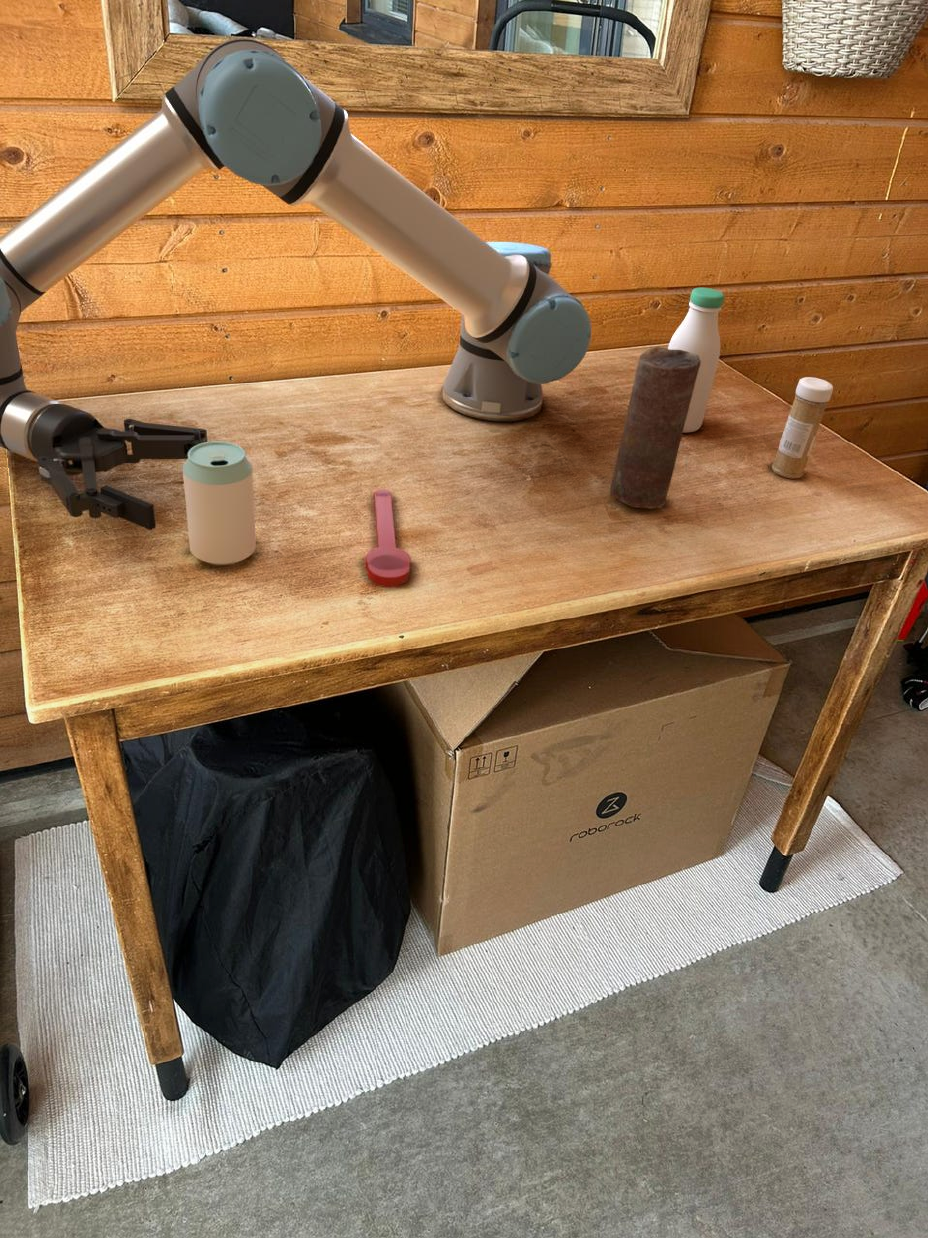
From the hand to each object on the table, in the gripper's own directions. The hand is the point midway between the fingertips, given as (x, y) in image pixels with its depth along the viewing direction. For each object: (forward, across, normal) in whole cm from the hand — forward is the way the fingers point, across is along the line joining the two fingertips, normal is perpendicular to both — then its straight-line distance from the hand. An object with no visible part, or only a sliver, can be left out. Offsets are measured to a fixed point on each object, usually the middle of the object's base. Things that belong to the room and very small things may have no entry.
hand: (198, 492), depth 100 cm
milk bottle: (+33, -69, -7) cm, 76 cm away
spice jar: (+51, -63, -7) cm, 82 cm away
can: (+3, 0, -7) cm, 7 cm away
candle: (+37, -41, -7) cm, 55 cm away
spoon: (+16, -13, -6) cm, 21 cm away
